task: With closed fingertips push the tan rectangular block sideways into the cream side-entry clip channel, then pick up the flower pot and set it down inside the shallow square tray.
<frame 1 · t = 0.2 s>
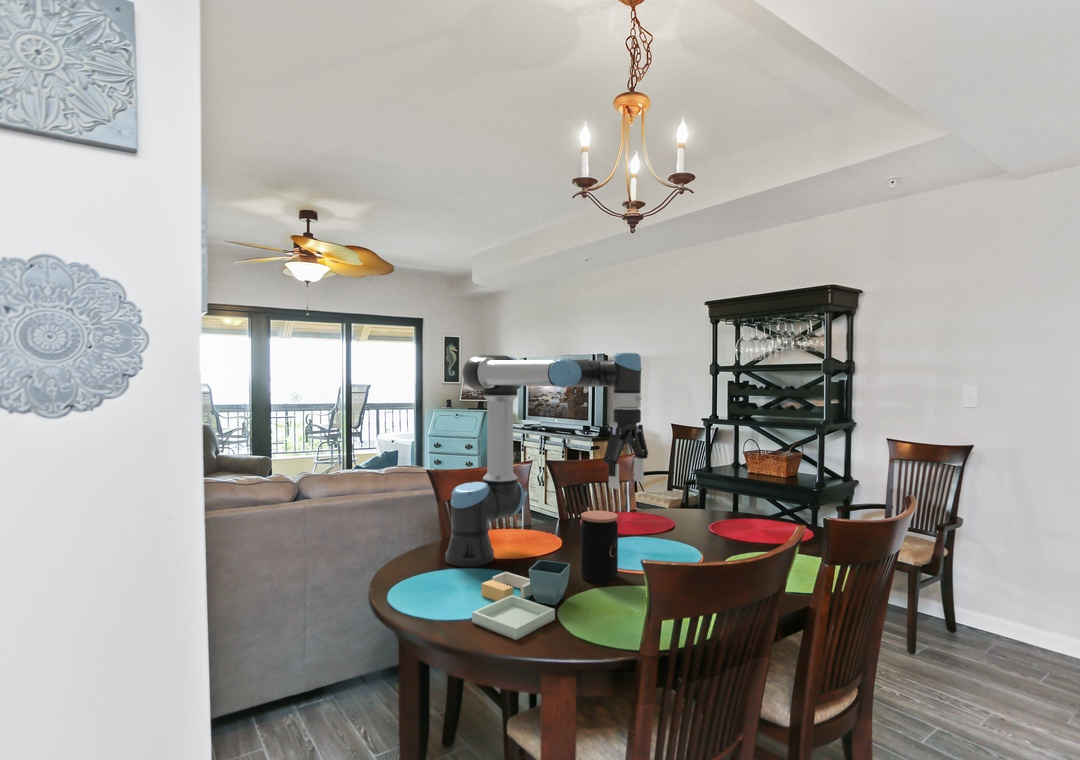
hand: (626, 484, 159), 28 cm above the table, fingers open, 13 cm apart
shallow square tray: (513, 621, 134), on the table
tan rectangular block: (497, 598, 149), on the table
coffee jar: (599, 577, 164), on the table
flower pot: (549, 601, 147), on the table
clip: (514, 589, 154), on the table
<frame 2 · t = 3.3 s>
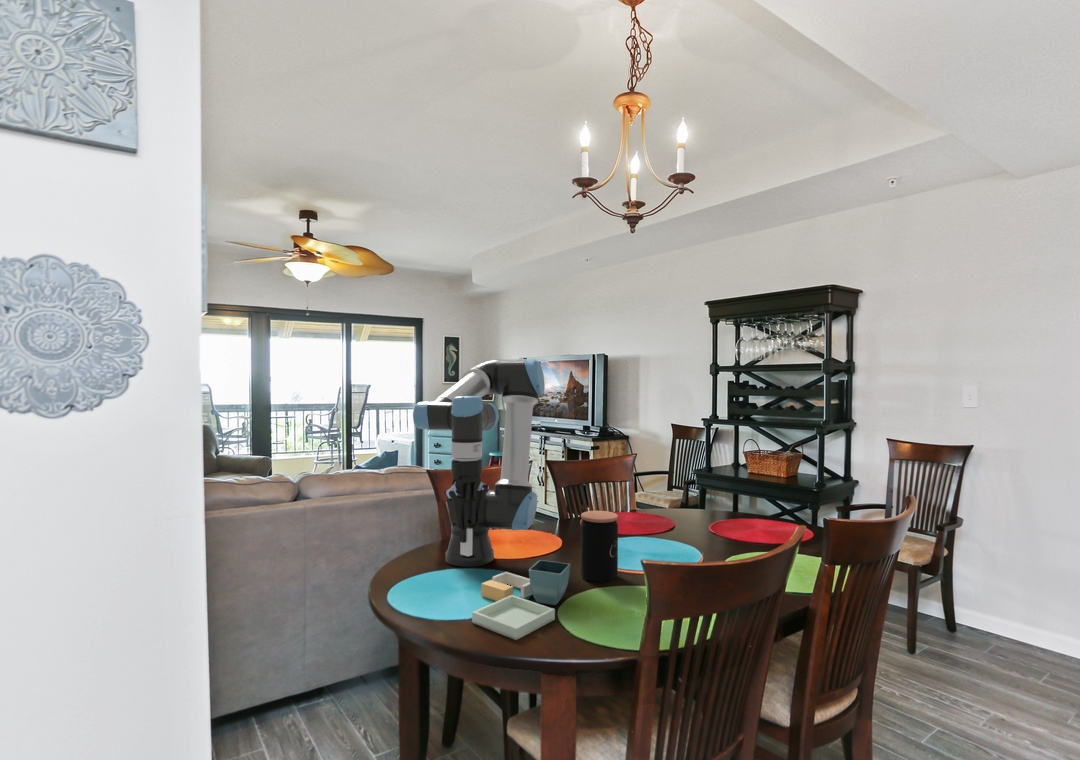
hand: (466, 554, 140), 14 cm above the table, fingers closed
nothing on the table moved.
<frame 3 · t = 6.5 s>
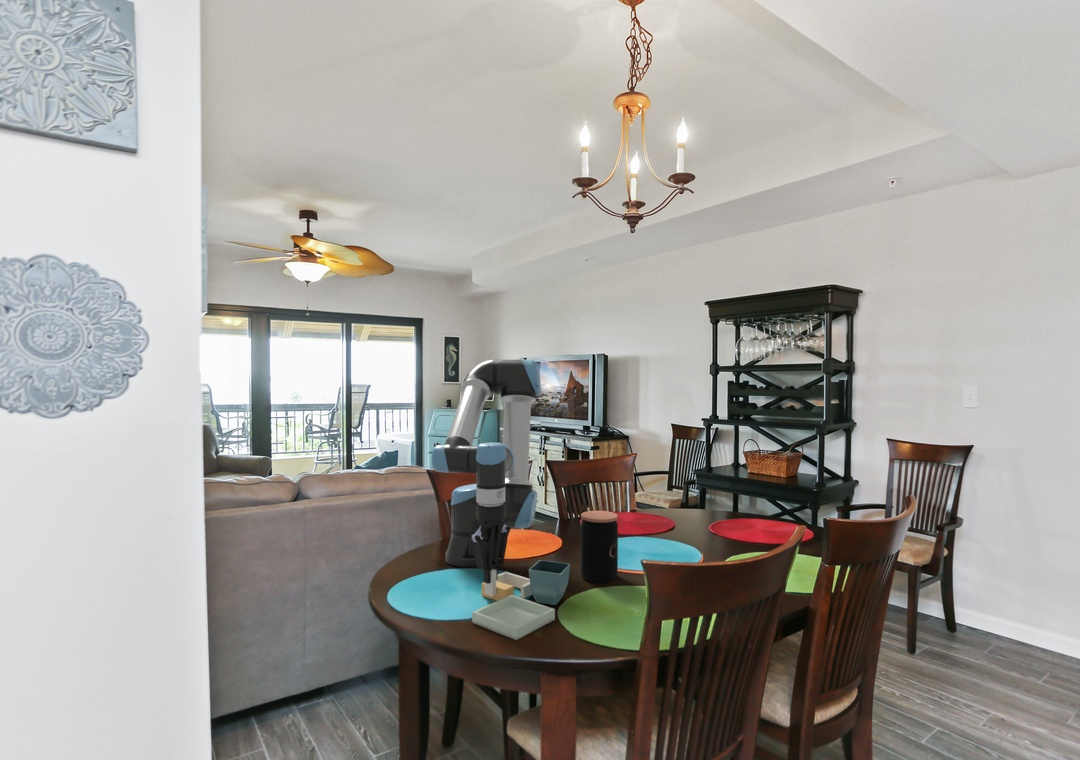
hand: (490, 594, 147), 1 cm above the table, fingers closed
tan rectangular block: (497, 597, 149), on the table, touching gripper
everything else where it was.
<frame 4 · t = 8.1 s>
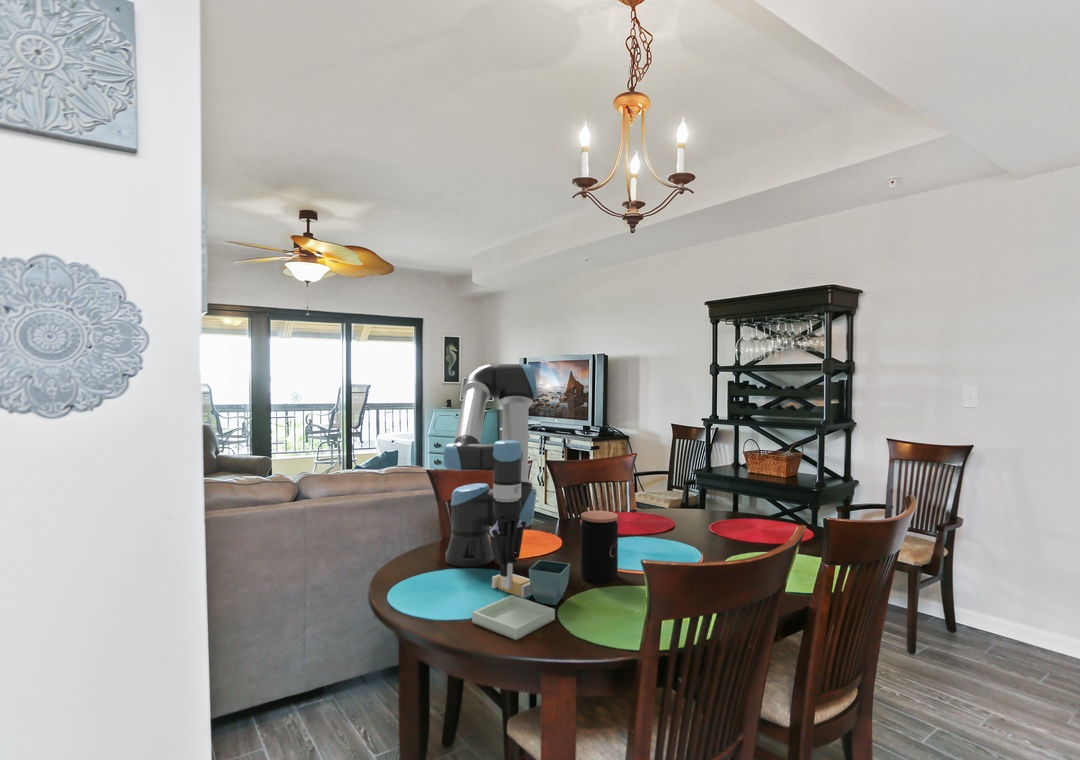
hand: (506, 587, 152), 2 cm above the table, fingers closed
tan rectangular block: (513, 591, 154), on the table
everything else where it was.
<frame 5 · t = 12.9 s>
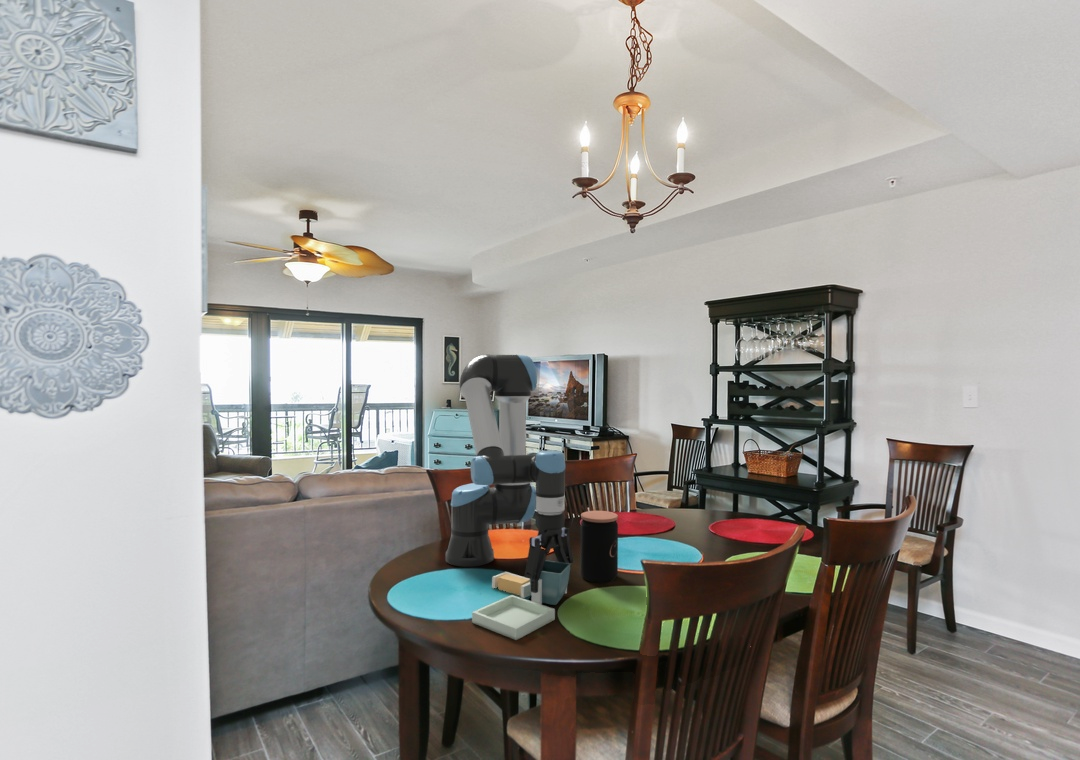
hand: (549, 598, 147), 1 cm above the table, fingers closed on flower pot, 10 cm apart
flower pot: (549, 601, 147), on the table, touching gripper
everything else where it was.
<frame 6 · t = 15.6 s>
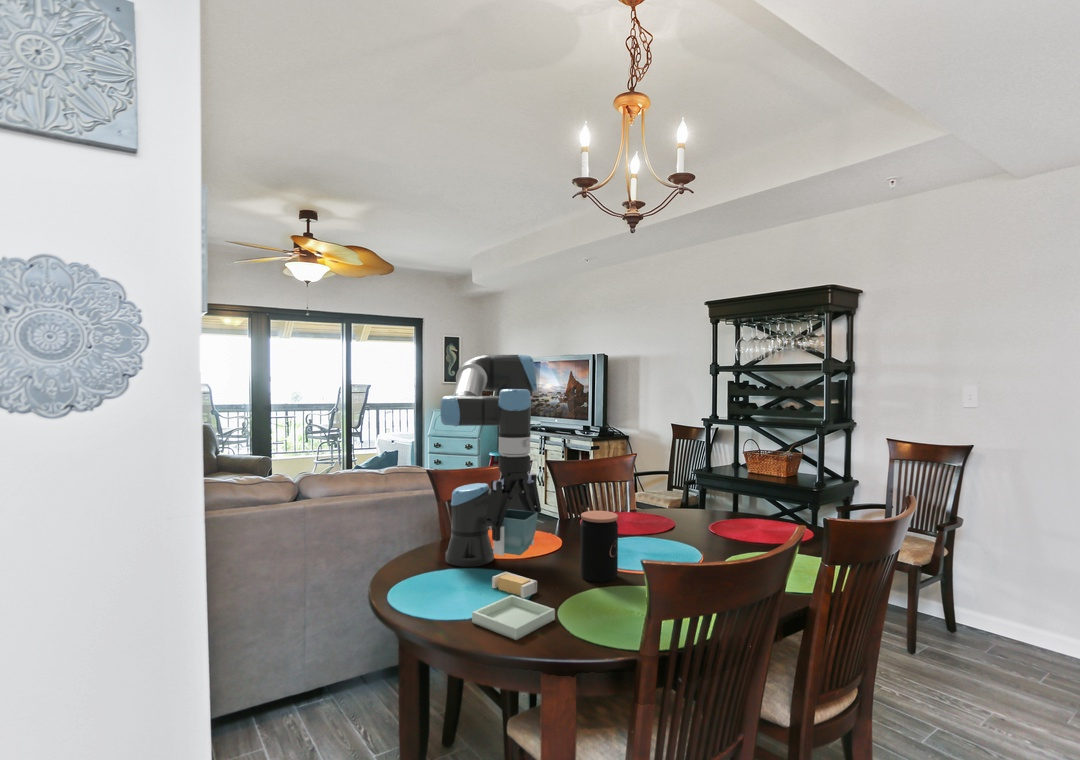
hand: (514, 548, 134), 17 cm above the table, fingers closed on flower pot, 10 cm apart
flower pot: (514, 552, 134), point 16 cm above the table, touching gripper
everything else where it was.
when the fingers open (3 cm above the table, at t = 18.6 s): flower pot drops 2 cm, resting on shallow square tray.
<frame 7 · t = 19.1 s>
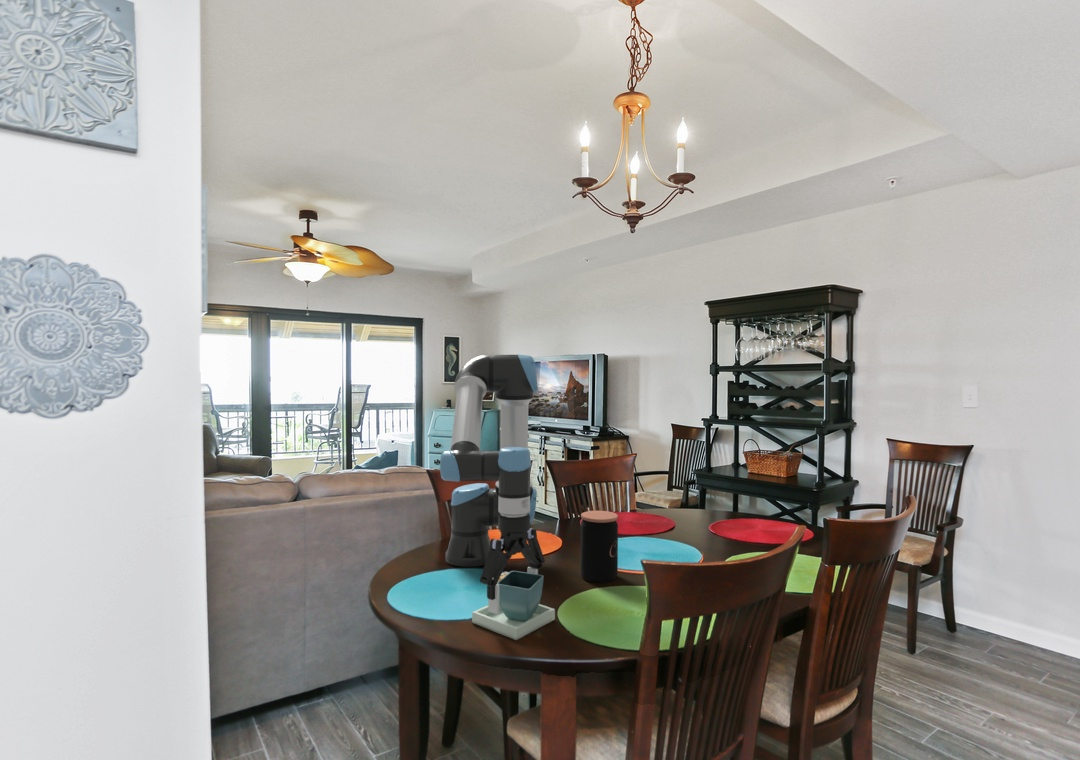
hand: (513, 603, 134), 4 cm above the table, fingers open, 13 cm apart
flower pot: (521, 616, 136), resting on shallow square tray, touching gripper
everything else where it was.
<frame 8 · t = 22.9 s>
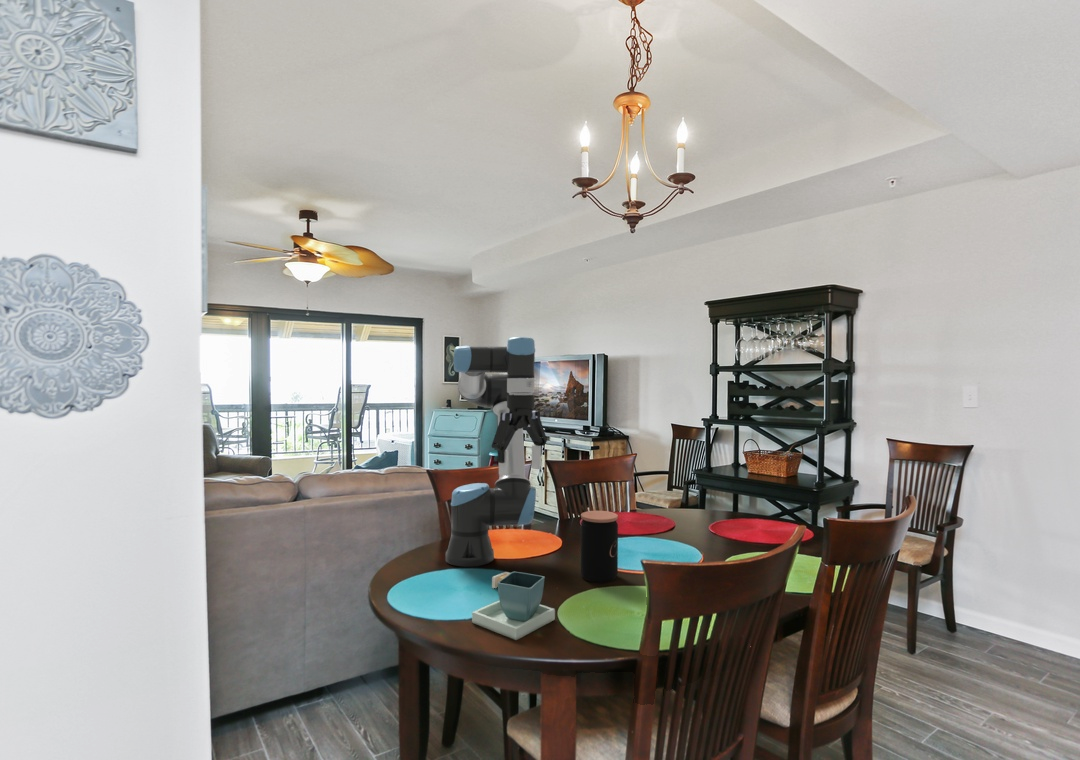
hand: (520, 471, 156), 32 cm above the table, fingers open, 13 cm apart
flower pot: (521, 617, 136), resting on shallow square tray
everything else where it was.
at the end: flower pot inside the target area on the shallow square tray (2.2 cm from its centre), point 0.3 cm above the shallow square tray's base; flower pot tilted 0°; tan rectangular block 0.4 cm off-centre on the clip, point 0.0 cm above the clip's base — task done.
